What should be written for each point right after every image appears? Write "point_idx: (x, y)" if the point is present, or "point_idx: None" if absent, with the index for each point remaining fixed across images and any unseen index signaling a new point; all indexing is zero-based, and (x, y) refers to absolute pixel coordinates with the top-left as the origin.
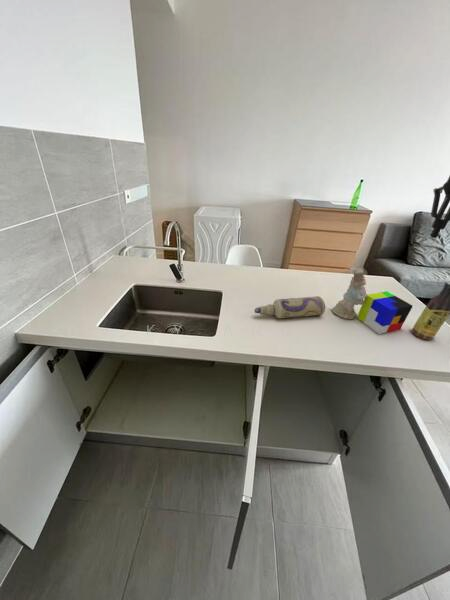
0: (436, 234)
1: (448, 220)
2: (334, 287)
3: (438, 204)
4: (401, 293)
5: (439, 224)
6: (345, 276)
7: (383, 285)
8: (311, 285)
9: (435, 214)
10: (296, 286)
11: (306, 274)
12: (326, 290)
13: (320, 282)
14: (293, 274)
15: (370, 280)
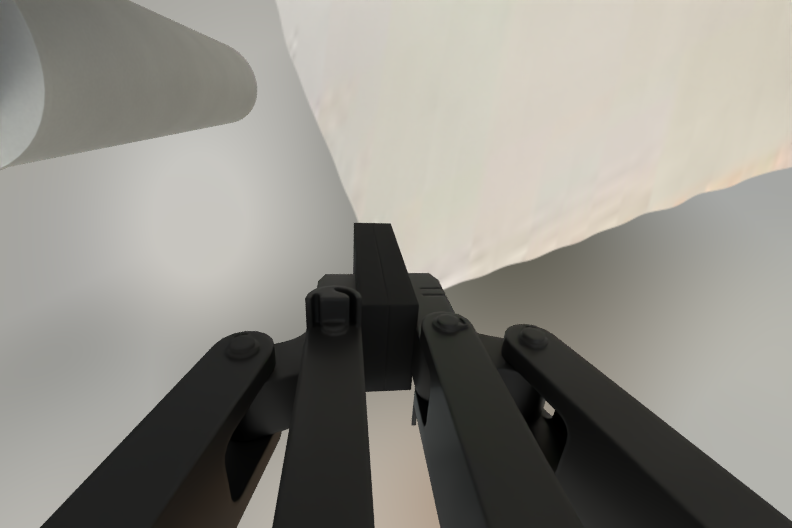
0: (368, 232)
1: (326, 291)
2: (620, 90)
3: (698, 512)
4: (362, 175)
5: (396, 275)
6: (552, 228)
7: (420, 218)
8: (712, 59)
9: (531, 351)
10: (780, 12)
11: (705, 165)
12: (661, 38)
13: (667, 112)
14: (759, 136)
15: (462, 240)
